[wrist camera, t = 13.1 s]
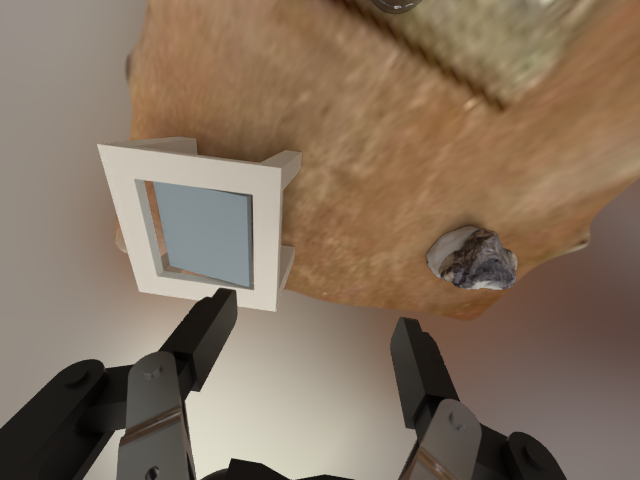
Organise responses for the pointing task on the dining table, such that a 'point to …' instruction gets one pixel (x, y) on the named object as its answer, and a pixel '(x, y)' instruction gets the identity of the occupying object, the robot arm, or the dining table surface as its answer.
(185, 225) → the trapdoor
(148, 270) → the stand
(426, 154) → the dining table surface
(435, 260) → the stone
